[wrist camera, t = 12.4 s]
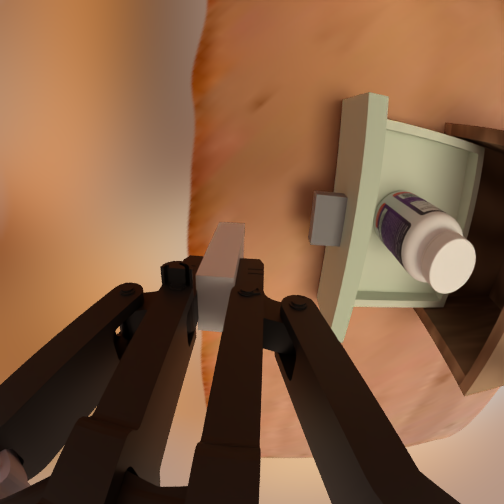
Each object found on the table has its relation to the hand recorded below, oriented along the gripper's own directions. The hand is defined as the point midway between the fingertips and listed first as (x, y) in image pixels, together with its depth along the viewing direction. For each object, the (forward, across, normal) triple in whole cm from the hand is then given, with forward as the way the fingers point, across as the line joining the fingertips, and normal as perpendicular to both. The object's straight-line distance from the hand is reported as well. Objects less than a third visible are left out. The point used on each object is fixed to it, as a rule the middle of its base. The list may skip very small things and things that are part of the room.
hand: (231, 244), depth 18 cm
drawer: (+10, +14, 0) cm, 17 cm away
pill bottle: (+8, +14, 0) cm, 16 cm away
